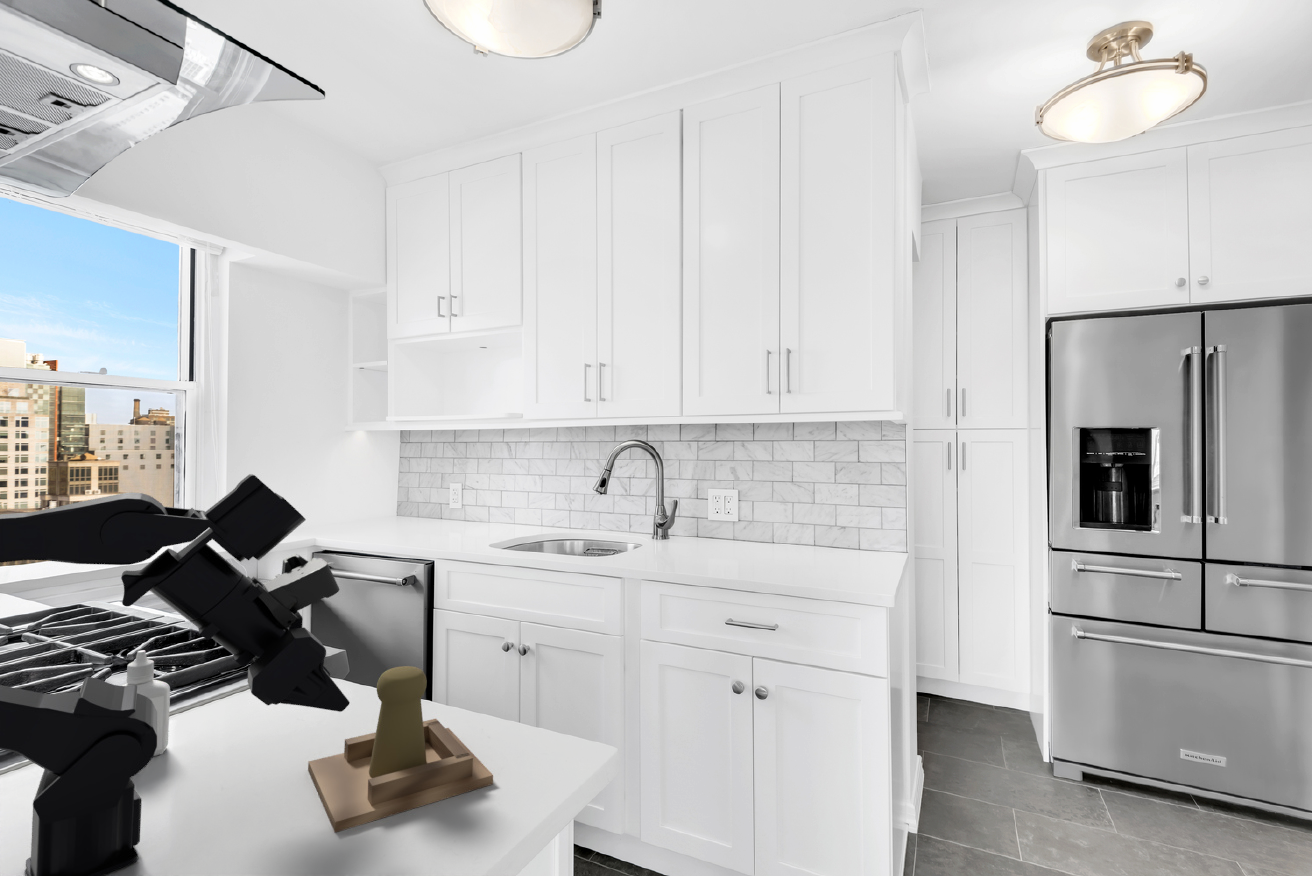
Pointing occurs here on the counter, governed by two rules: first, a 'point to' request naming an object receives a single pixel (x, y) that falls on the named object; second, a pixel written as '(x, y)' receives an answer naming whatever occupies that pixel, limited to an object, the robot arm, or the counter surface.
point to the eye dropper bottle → (151, 694)
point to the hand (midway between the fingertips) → (335, 691)
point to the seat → (394, 778)
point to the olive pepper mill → (399, 722)
